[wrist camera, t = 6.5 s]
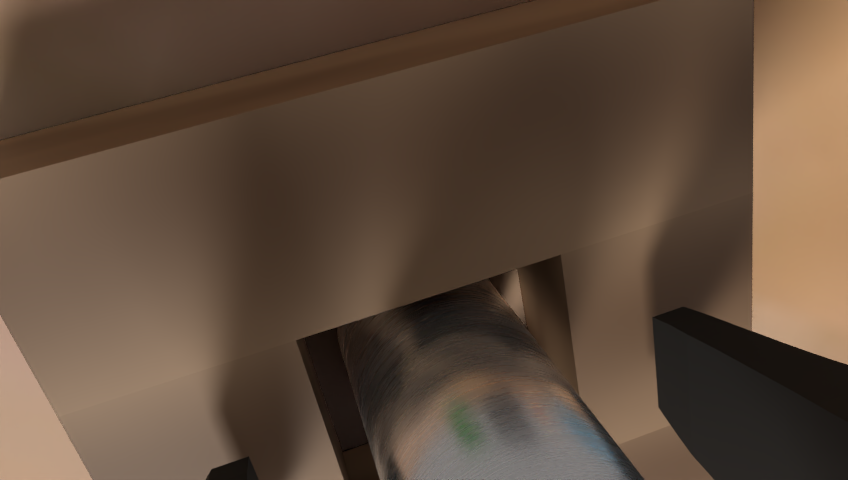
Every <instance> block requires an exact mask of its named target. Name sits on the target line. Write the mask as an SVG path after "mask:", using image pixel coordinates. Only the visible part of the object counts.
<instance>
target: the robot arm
mask: <svg viewBox="0 0 848 480" xmlns="http://www.w3.org/2000/svg"><path fill="white" fill-rule="evenodd" d="M652 321H653V335H654V350H655V364H656V379H657V393H658V408H659V409H660V410H661V412H662V413H663V415H664V416H665V418H666V419H667V421H668V422H669V424H670V425H671V427H672V428H673V429H674V431H675V432H676V434H677V435H678V437H679V438H680V439H681V441H682V442H683V443H684V445H685V446H686V448H687V449H688V450H689V452H690V453H691V454H692V456H693V457H694V458H695V459H696V460H697V461H698V462H699V463H700V465H701V466H702V467H703V468H704V469H705V470H706V471H707V472H708V473H709V474H710V476H711V477H712V478H713V479H714V480H848V365H847V364H843V363H840V362H837V361H834V360H831V359H828V358H825V357H822V356H819V355H816V354H813V353H810V352H807V351H804V350H802V349H799V348H796V347H793V346H790V345H788V344H785V343H782V342H779V341H777V340H774V339H771V338H769V337H766V336H763V335H760V334H758V333H755V332H753V331H750V330H747V329H745V328H742V327H739V326H737V325H734V324H731V323H729V322H726V321H723V320H721V319H718V318H715V317H713V316H710V315H707V314H704V313H702V312H699V311H696V310H693V309H690V308H687V307H680V308H677V309H675V310H672V311H669V312H666V313H663V314H660V315H657V316H654V317H652ZM206 480H259V479H258V477H257V474H256V472H255V470H254V467H253V465H252V463H251V460H250V458H249V456H248V457H245V458H242V459H239V460H237V461H234V462H231V463H228V464H225V465H222V466H219V467H216V468H213V469H211V471H210V472H209V474H208V476H207V478H206Z"/></svg>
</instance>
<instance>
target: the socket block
mask: <svg viewBox="0 0 848 480" xmlns="http://www.w3.org/2000/svg"><path fill="white" fill-rule="evenodd" d="M753 53H754V0H534V1H530V2H526V3H522V4H519V5H515V6H511V7H507V8H503V9H499V10H496V11H492V12H488V13H484V14H480V15H477V16H473V17H469V18H465V19H461V20H458V21H454V22H450V23H446V24H442V25H438V26H435V27H431V28H427V29H423V30H419V31H416V32H412V33H408V34H404V35H400V36H397V37H393V38H389V39H385V40H381V41H378V42H374V43H370V44H366V45H362V46H358V47H355V48H351V49H347V50H343V51H339V52H336V53H332V54H328V55H324V56H320V57H317V58H313V59H309V60H305V61H301V62H297V63H294V64H290V65H286V66H282V67H278V68H275V69H271V70H267V71H263V72H259V73H256V74H252V75H248V76H244V77H240V78H236V79H233V80H229V81H225V82H221V83H217V84H214V85H210V86H206V87H202V88H198V89H195V90H191V91H187V92H183V93H179V94H175V95H172V96H168V97H164V98H160V99H156V100H153V101H149V102H145V103H141V104H137V105H134V106H130V107H126V108H122V109H118V110H114V111H111V112H107V113H103V114H99V115H95V116H92V117H88V118H84V119H80V120H76V121H73V122H69V123H65V124H61V125H57V126H54V127H50V128H46V129H42V130H38V131H34V132H31V133H27V134H23V135H19V136H15V137H12V138H8V139H4V140H0V315H1V317H2V319H3V321H4V322H5V324H6V326H7V328H8V329H9V331H10V333H11V335H12V337H13V338H14V340H15V342H16V344H17V346H18V347H19V349H20V351H21V353H22V354H23V356H24V358H25V360H26V362H27V363H28V365H29V367H30V369H31V371H32V372H33V374H34V376H35V378H36V379H37V381H38V383H39V385H40V387H41V388H42V390H43V392H44V394H45V396H46V397H47V399H48V401H49V403H50V404H51V406H52V408H53V410H54V412H55V413H56V415H57V417H58V419H59V420H60V422H61V424H62V426H63V428H64V429H65V431H66V433H67V435H68V437H69V438H70V440H71V442H72V444H73V445H74V447H75V449H76V451H77V453H78V454H79V456H80V458H81V460H82V462H83V463H84V465H85V467H86V469H87V470H88V472H89V474H90V476H91V478H92V479H93V480H206V478H207V476H208V474H209V472H210V471H211V469H213V468H216V467H219V466H222V465H225V464H228V463H231V462H234V461H237V460H239V459H242V458H245V457H248V456H249V458H250V460H251V463H252V465H253V467H254V470H255V472H256V474H257V477H258V479H259V480H380V479H379V475H378V472H377V469H376V466H375V462H374V459H373V456H372V452H371V449H370V446H369V443H367V444H365V445H362V446H359V447H356V448H353V449H350V450H348V451H345V452H342V449H341V446H340V443H339V440H338V437H337V434H336V431H335V428H334V425H333V422H332V419H331V416H330V413H329V410H328V408H327V405H326V402H325V399H324V396H323V393H322V390H321V387H320V384H319V381H318V378H317V375H316V372H315V369H314V366H313V363H312V360H311V357H310V354H309V351H308V348H307V345H306V342H305V339H304V337H307V336H311V335H314V334H317V333H320V332H323V331H326V330H329V329H332V328H335V327H338V326H342V325H345V324H348V323H351V322H354V321H357V320H360V319H363V318H366V317H369V316H373V315H376V314H379V313H382V312H385V311H388V310H391V309H394V308H397V307H400V306H403V305H407V304H410V303H413V302H416V301H419V300H422V299H425V298H428V297H431V296H434V295H438V294H441V293H444V292H447V291H450V290H453V289H456V288H459V287H462V286H465V285H468V284H472V283H475V282H478V281H481V280H484V279H487V278H490V277H493V276H496V275H499V274H503V273H506V272H509V271H512V270H515V269H518V275H519V282H520V288H521V294H522V300H523V306H524V312H525V318H526V324H527V329H528V331H529V332H530V333H531V335H532V336H533V337H534V338H535V340H536V341H537V342H538V344H539V345H540V346H541V347H542V349H543V350H544V351H545V352H546V354H547V355H548V356H549V358H550V359H551V360H552V361H553V363H554V364H555V365H556V367H557V368H558V369H559V370H560V372H561V373H562V374H563V376H564V377H565V378H566V379H567V381H568V382H569V383H570V385H571V386H572V387H573V388H574V390H575V391H576V392H577V393H578V395H579V396H580V397H581V399H582V400H583V401H584V402H585V404H586V405H587V406H588V408H589V409H590V410H591V411H592V413H593V414H594V415H595V417H596V418H597V419H598V420H599V422H600V423H601V424H602V426H603V427H604V428H605V429H606V431H607V432H608V433H609V435H610V436H611V437H612V438H613V440H614V441H615V442H616V443H617V445H618V446H619V447H620V449H621V450H622V451H623V452H624V454H625V455H626V456H627V458H628V459H629V460H630V461H631V463H632V464H633V465H634V467H635V468H636V469H637V470H638V472H639V473H640V474H641V476H642V477H643V478H644V479H645V480H714V479H713V478H712V477H711V476H710V474H709V473H708V472H707V471H706V470H705V469H704V468H703V467H702V466H701V465H700V463H699V462H698V461H697V460H696V459H695V458H694V457H693V456H692V454H691V453H690V452H689V450H688V449H687V448H686V446H685V445H684V443H683V442H682V441H681V439H680V438H679V437H678V435H677V434H676V432H675V431H674V429H673V428H672V427H671V425H670V424H669V422H668V421H667V419H666V418H665V416H664V415H663V413H662V412H661V410H660V409H659V408H658V393H657V379H656V364H655V350H654V335H653V321H652V317H654V316H657V315H660V314H663V313H666V312H669V311H672V310H675V309H677V308H680V307H687V308H690V309H693V310H696V311H699V312H702V313H704V314H707V315H710V316H713V317H715V318H718V319H721V320H723V321H726V322H729V323H731V324H734V325H737V326H739V327H742V328H745V329H747V330H750V331H752V211H753Z"/></svg>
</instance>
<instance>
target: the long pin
mask: <svg viewBox="0 0 848 480" xmlns="http://www.w3.org/2000/svg"><path fill="white" fill-rule="evenodd" d="M338 341H339V346H340V350H341V353H342V356H343V360H344V363H345V366H346V370H347V373H348V376H349V380H350V383H351V386H352V389H353V393H354V396H355V399H356V403H357V406H358V409H359V413H360V416H361V419H362V423H363V426H364V429H365V432H366V436H367V439H368V442H369V446H370V449H371V452H372V456H373V459H374V462H375V466H376V469H377V472H378V475H379V479H380V480H645V479H644V478H643V477H642V476H641V474H640V473H639V472H638V470H637V469H636V468H635V467H634V465H633V464H632V463H631V461H630V460H629V459H628V458H627V456H626V455H625V454H624V452H623V451H622V450H621V449H620V447H619V446H618V445H617V443H616V442H615V441H614V440H613V438H612V437H611V436H610V435H609V433H608V432H607V431H606V429H605V428H604V427H603V426H602V424H601V423H600V422H599V420H598V419H597V418H596V417H595V415H594V414H593V413H592V411H591V410H590V409H589V408H588V406H587V405H586V404H585V402H584V401H583V400H582V399H581V397H580V396H579V395H578V393H577V392H576V391H575V390H574V388H573V387H572V386H571V385H570V383H569V382H568V381H567V379H566V378H565V377H564V376H563V374H562V373H561V372H560V370H559V369H558V368H557V367H556V365H555V364H554V363H553V361H552V360H551V359H550V358H549V356H548V355H547V354H546V352H545V351H544V350H543V349H542V347H541V346H540V345H539V344H538V342H537V341H536V340H535V338H534V337H533V336H532V335H531V333H530V332H529V331H528V329H527V328H526V327H525V326H524V324H523V323H522V322H521V320H520V319H519V318H518V317H517V315H516V314H515V313H514V311H513V310H512V309H511V308H510V306H509V305H508V304H507V302H506V301H505V300H504V299H503V297H502V296H501V295H500V294H499V292H498V291H497V290H496V288H495V287H494V286H493V285H492V283H491V282H490V281H489V279H488V278H487V279H484V280H481V281H478V282H475V283H472V284H468V285H465V286H462V287H459V288H456V289H453V290H450V291H447V292H444V293H441V294H438V295H434V296H431V297H428V298H425V299H422V300H419V301H416V302H413V303H410V304H407V305H403V306H400V307H397V308H394V309H391V310H388V311H385V312H382V313H379V314H376V315H373V316H369V317H366V318H363V319H360V320H357V321H354V322H351V323H348V324H345V325H342V326H338Z"/></svg>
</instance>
